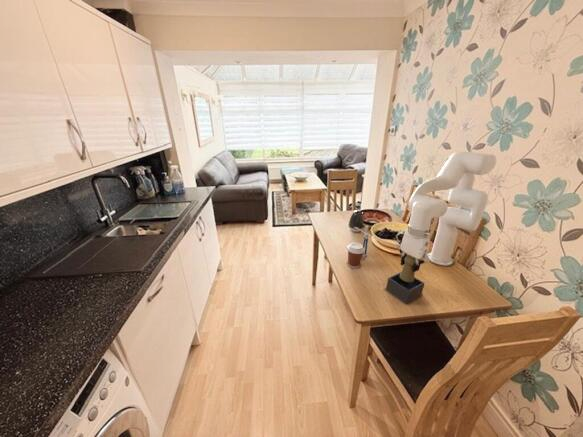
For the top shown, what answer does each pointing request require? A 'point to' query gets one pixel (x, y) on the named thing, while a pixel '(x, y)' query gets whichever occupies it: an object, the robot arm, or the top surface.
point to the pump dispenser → (356, 221)
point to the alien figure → (366, 239)
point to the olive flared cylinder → (408, 269)
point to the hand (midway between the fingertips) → (409, 267)
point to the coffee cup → (355, 254)
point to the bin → (404, 288)
